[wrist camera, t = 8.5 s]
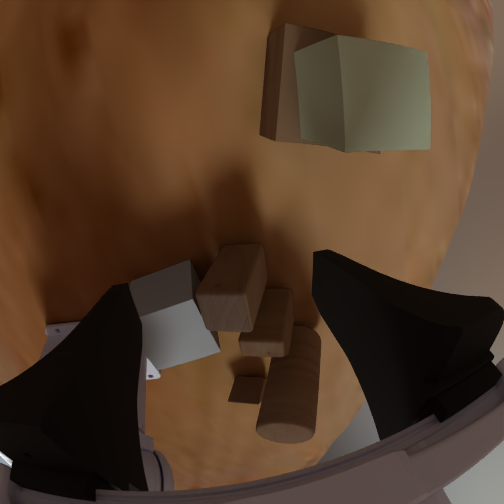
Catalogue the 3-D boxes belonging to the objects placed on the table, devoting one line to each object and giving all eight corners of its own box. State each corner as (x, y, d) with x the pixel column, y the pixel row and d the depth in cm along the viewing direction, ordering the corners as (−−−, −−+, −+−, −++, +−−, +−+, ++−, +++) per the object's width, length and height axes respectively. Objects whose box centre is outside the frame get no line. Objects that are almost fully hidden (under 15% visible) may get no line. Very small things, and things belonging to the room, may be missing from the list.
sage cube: (301, 138, 16) (345, 152, 11) (293, 52, 13) (337, 35, 9) (374, 134, 16) (429, 149, 12) (370, 58, 14) (427, 52, 9)
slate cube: (159, 326, 24) (157, 370, 20) (131, 280, 21) (121, 323, 17) (213, 308, 24) (221, 351, 20) (190, 258, 22) (192, 299, 17)
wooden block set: (207, 235, 24) (146, 318, 15) (317, 229, 22) (315, 324, 13) (244, 379, 32) (220, 457, 23) (320, 382, 30) (313, 466, 21)
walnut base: (258, 134, 19) (275, 141, 15) (266, 37, 16) (285, 22, 12) (349, 144, 20) (380, 154, 17) (358, 57, 17) (390, 52, 14)
